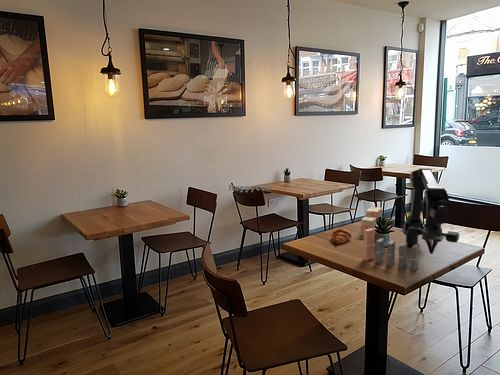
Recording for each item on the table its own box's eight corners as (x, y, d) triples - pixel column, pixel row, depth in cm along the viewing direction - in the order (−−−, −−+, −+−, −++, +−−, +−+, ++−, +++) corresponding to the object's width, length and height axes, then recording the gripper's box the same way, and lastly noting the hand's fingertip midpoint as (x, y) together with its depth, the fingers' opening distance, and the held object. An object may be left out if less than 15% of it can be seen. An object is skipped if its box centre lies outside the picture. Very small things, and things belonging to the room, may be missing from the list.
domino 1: (370, 257, 179) (371, 228, 176) (373, 258, 177) (374, 229, 175) (362, 259, 176) (363, 230, 174) (366, 260, 175) (367, 231, 172)
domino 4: (401, 263, 170) (402, 242, 169) (406, 264, 169) (407, 242, 168) (398, 267, 166) (399, 245, 165) (402, 268, 165) (403, 246, 163)
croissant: (339, 239, 217) (333, 226, 217) (355, 233, 213) (349, 220, 213) (331, 250, 198) (324, 236, 198) (349, 243, 193) (342, 229, 194)
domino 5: (413, 266, 167) (414, 244, 166) (418, 267, 166) (419, 244, 165) (410, 270, 163) (411, 247, 162) (414, 271, 162) (416, 248, 160)
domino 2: (379, 259, 176) (380, 238, 175) (383, 259, 175) (384, 238, 173) (375, 262, 172) (376, 241, 170) (379, 263, 171) (380, 242, 169)
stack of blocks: (371, 237, 208) (372, 215, 206) (360, 235, 212) (361, 214, 210) (381, 227, 226) (382, 207, 224) (371, 226, 229) (371, 206, 227)
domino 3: (390, 261, 173) (391, 240, 172) (394, 262, 172) (395, 240, 170) (386, 265, 169) (387, 243, 168) (390, 265, 168) (391, 244, 166)
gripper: (404, 218, 156) (402, 254, 159) (455, 225, 145) (452, 264, 148) (411, 212, 165) (409, 247, 168) (460, 218, 154) (457, 255, 157)
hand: (431, 253), depth 160 cm, fingers closed
